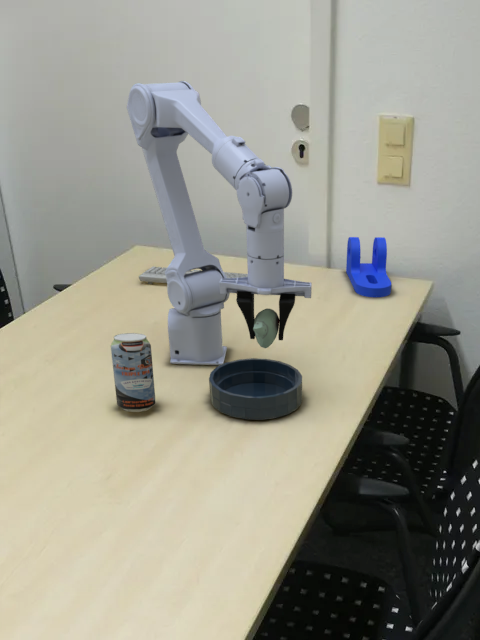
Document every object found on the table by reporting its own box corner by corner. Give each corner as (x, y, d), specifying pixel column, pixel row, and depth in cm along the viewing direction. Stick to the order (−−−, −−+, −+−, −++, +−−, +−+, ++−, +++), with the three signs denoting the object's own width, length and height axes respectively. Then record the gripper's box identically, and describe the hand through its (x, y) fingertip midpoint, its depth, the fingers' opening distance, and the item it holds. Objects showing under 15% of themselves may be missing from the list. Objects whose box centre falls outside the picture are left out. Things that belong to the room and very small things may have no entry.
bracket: (346, 271, 189) (347, 233, 183) (379, 272, 190) (382, 233, 185) (357, 297, 174) (360, 256, 169) (393, 297, 176) (397, 256, 170)
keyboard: (275, 279, 181) (275, 270, 180) (268, 294, 173) (268, 285, 172) (152, 269, 182) (151, 261, 181) (139, 284, 173) (138, 275, 172)
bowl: (205, 419, 124) (203, 395, 122) (216, 379, 136) (214, 356, 134) (300, 422, 125) (300, 399, 123) (302, 382, 137) (303, 360, 135)
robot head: (260, 338, 133) (260, 299, 129) (284, 340, 133) (284, 302, 129) (249, 356, 127) (248, 316, 123) (273, 359, 127) (273, 319, 123)
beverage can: (118, 419, 123) (107, 347, 116) (117, 398, 128) (107, 328, 121) (158, 416, 124) (151, 344, 117) (156, 395, 130) (148, 326, 123)
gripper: (215, 259, 117) (219, 344, 125) (311, 264, 118) (309, 348, 126) (220, 245, 123) (224, 328, 131) (312, 250, 124) (310, 332, 132)
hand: (266, 337), depth 129 cm, fingers closed on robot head, 4 cm apart
